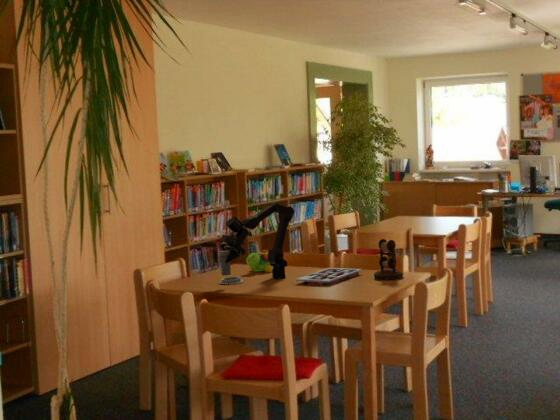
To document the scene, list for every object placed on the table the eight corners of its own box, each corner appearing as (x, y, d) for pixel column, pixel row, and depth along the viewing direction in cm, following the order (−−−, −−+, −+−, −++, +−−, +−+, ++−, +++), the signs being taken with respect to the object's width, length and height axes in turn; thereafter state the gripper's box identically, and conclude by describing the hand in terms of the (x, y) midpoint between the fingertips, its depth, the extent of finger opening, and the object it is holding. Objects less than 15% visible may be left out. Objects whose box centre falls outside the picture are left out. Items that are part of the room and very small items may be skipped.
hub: (243, 279, 427) (243, 275, 427) (243, 283, 414) (243, 279, 414) (219, 281, 426) (219, 277, 426) (218, 285, 413) (218, 281, 413)
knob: (231, 273, 408) (229, 249, 407) (231, 275, 403) (229, 251, 402) (221, 274, 408) (219, 250, 407) (221, 275, 403) (219, 252, 402)
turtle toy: (238, 273, 448) (237, 253, 447) (265, 267, 466) (263, 247, 465) (261, 275, 438) (259, 254, 437) (287, 268, 455) (286, 248, 454)
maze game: (330, 273, 432) (329, 267, 431) (361, 275, 421) (361, 269, 420) (295, 285, 403) (295, 279, 402) (328, 287, 392) (328, 280, 391)
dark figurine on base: (409, 277, 402) (407, 238, 401) (386, 281, 395) (384, 242, 393) (390, 274, 415) (388, 236, 413) (368, 278, 407) (366, 240, 406)
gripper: (219, 227, 413) (203, 251, 408) (239, 229, 398) (222, 254, 393) (233, 240, 419) (217, 264, 413) (253, 243, 404) (237, 267, 398)
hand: (223, 262), depth 404 cm, fingers closed on knob, 5 cm apart
